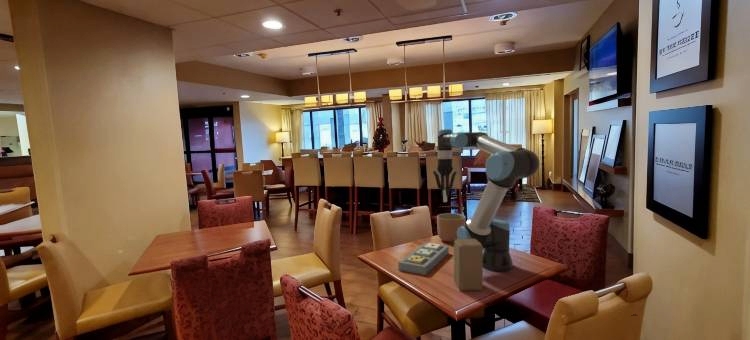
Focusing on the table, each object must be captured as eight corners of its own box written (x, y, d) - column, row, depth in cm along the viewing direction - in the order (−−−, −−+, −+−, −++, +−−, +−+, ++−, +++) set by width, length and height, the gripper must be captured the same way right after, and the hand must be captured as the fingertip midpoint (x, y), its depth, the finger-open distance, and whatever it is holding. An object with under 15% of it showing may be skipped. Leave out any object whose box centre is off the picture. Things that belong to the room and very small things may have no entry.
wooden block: (475, 281, 162) (476, 237, 160) (483, 291, 152) (483, 245, 150) (453, 282, 161) (453, 238, 159) (459, 291, 152) (459, 245, 149)
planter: (471, 241, 219) (471, 217, 217) (450, 246, 210) (450, 221, 208) (452, 234, 233) (452, 211, 232) (431, 239, 225) (431, 215, 223)
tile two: (433, 257, 189) (433, 250, 188) (428, 262, 183) (428, 254, 182) (421, 255, 192) (421, 248, 192) (416, 260, 186) (416, 252, 186)
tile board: (448, 253, 199) (448, 246, 199) (425, 275, 170) (425, 267, 169) (424, 249, 206) (424, 242, 205) (398, 270, 177) (398, 262, 176)
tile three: (425, 264, 179) (425, 256, 179) (420, 269, 173) (420, 261, 173) (412, 262, 183) (412, 254, 182) (407, 267, 177) (407, 258, 176)
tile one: (440, 251, 198) (440, 244, 198) (436, 255, 192) (436, 247, 192) (428, 249, 202) (428, 242, 201) (424, 253, 196) (424, 246, 195)
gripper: (458, 157, 193) (458, 201, 196) (435, 157, 199) (435, 199, 202) (455, 158, 187) (455, 203, 189) (431, 158, 193) (431, 202, 195)
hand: (445, 201), depth 195 cm, fingers closed
